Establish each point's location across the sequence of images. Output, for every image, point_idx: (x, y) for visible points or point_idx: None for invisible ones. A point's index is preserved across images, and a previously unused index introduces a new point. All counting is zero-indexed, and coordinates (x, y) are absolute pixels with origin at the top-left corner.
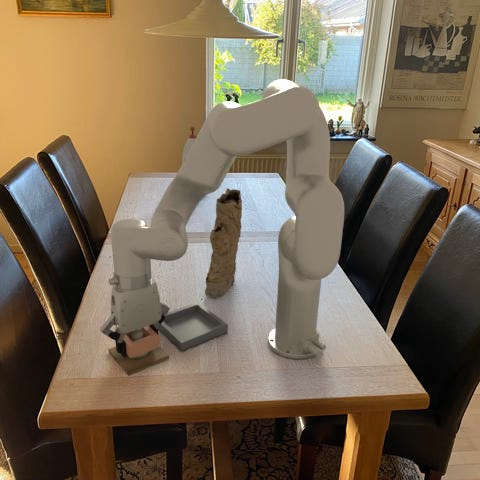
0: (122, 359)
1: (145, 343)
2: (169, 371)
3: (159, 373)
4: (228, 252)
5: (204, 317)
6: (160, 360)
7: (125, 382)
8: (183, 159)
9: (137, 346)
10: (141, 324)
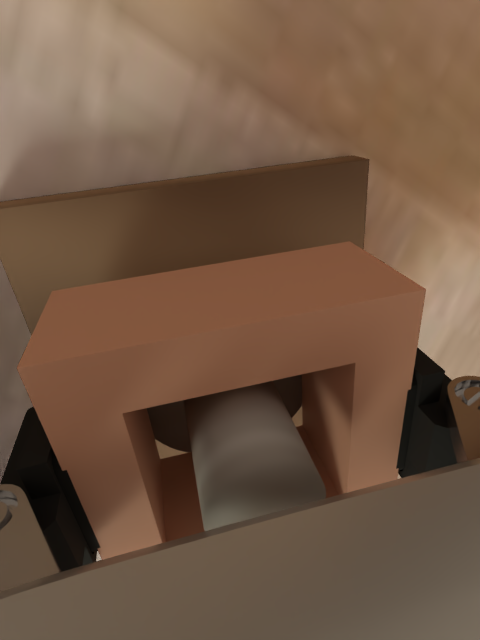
0: None
1: (221, 309)
2: (31, 20)
3: (132, 48)
4: None
5: None
6: (80, 195)
7: (397, 94)
8: None
9: (321, 290)
10: (355, 587)
